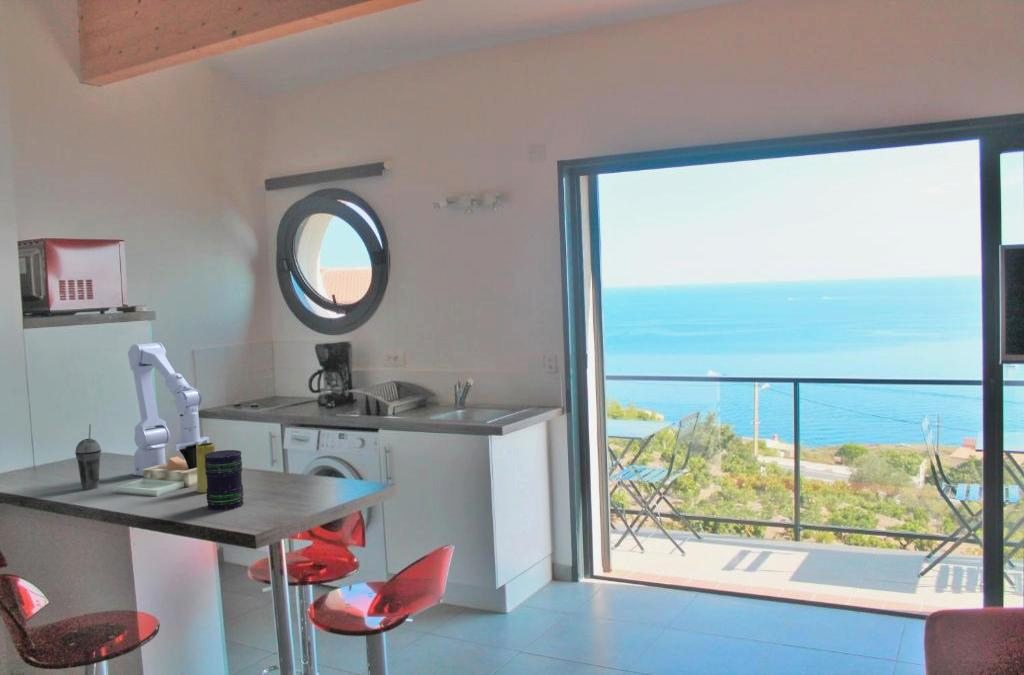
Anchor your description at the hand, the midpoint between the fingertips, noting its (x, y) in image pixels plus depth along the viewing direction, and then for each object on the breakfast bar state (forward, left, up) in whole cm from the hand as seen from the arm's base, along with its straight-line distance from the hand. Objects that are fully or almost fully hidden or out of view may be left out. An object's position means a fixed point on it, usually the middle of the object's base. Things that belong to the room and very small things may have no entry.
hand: (192, 469), depth 256 cm
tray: (-4, -14, -4) cm, 15 cm away
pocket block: (-4, 0, -4) cm, 5 cm away
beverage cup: (-25, -17, -4) cm, 31 cm away
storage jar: (+33, -23, -4) cm, 40 cm away
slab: (-4, 0, -2) cm, 5 cm away
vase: (+15, -10, -4) cm, 18 cm away
